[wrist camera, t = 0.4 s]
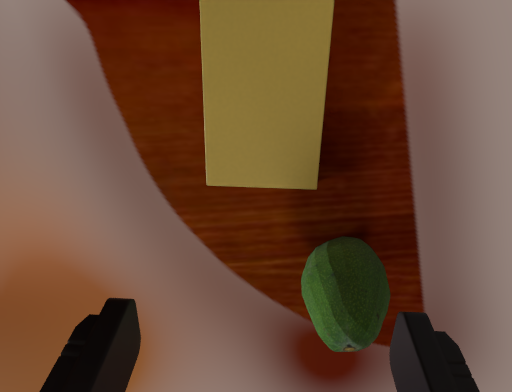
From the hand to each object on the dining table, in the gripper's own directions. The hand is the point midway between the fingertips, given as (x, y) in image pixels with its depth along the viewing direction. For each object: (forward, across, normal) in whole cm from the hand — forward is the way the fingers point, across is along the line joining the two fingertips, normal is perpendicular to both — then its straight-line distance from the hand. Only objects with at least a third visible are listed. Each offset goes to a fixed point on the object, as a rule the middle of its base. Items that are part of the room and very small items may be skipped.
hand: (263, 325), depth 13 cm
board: (+27, +1, 0) cm, 27 cm away
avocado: (+27, -7, +16) cm, 32 cm away
